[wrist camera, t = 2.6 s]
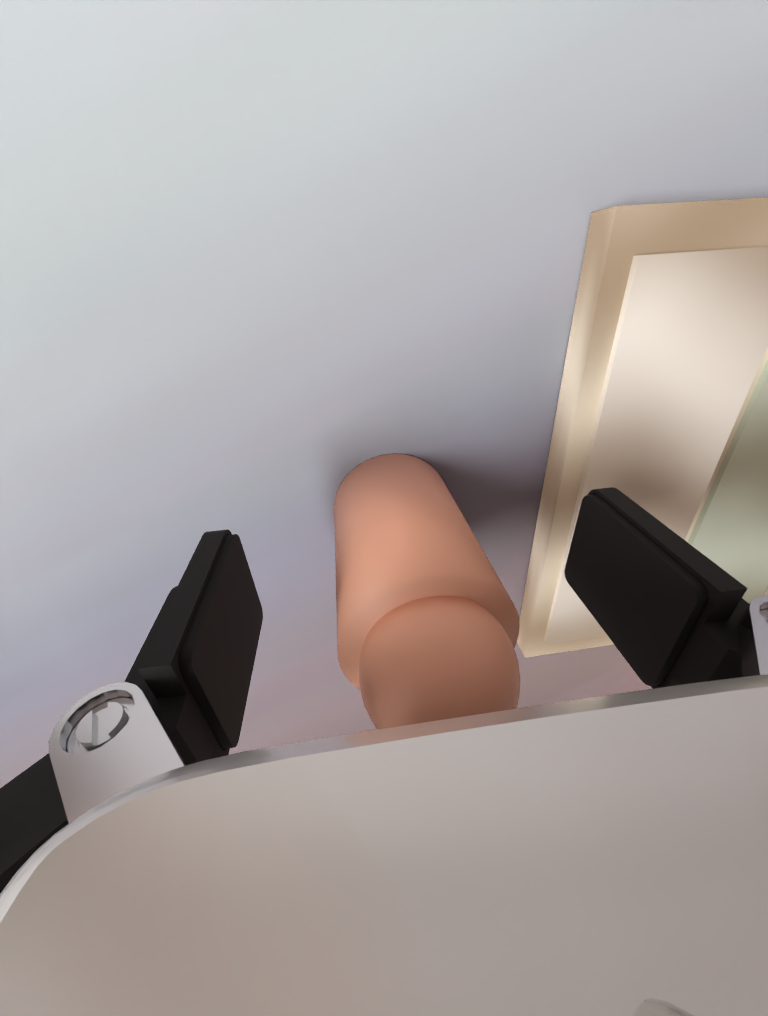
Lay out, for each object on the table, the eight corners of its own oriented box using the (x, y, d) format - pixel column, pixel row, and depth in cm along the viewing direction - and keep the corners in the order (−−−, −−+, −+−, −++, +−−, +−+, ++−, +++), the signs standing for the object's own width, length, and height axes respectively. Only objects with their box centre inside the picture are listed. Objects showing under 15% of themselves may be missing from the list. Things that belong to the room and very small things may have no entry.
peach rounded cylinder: (446, 545, 15) (553, 788, 8) (341, 558, 14) (353, 824, 7) (449, 447, 13) (599, 658, 6) (326, 460, 12) (324, 699, 5)
